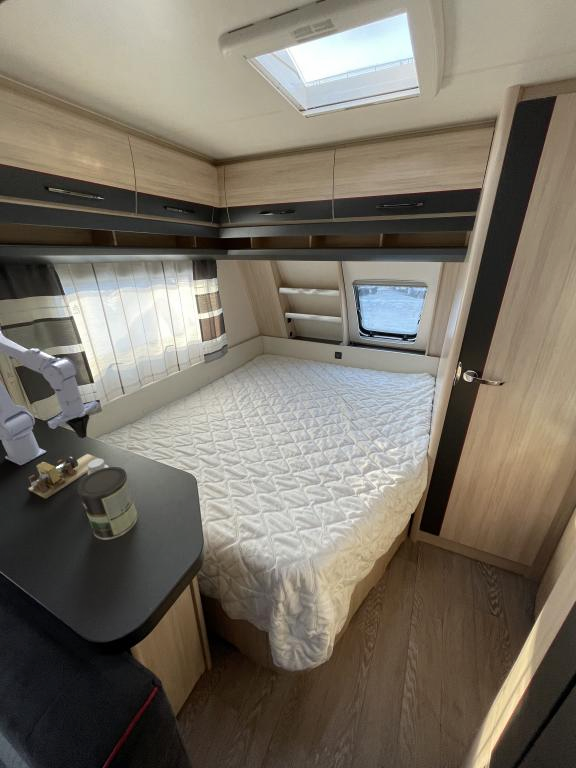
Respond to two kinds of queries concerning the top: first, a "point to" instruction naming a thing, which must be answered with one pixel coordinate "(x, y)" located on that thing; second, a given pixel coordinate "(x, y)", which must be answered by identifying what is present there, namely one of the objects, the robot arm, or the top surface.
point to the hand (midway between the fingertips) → (82, 436)
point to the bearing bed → (62, 477)
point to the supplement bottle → (96, 465)
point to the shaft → (58, 469)
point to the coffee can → (108, 502)
